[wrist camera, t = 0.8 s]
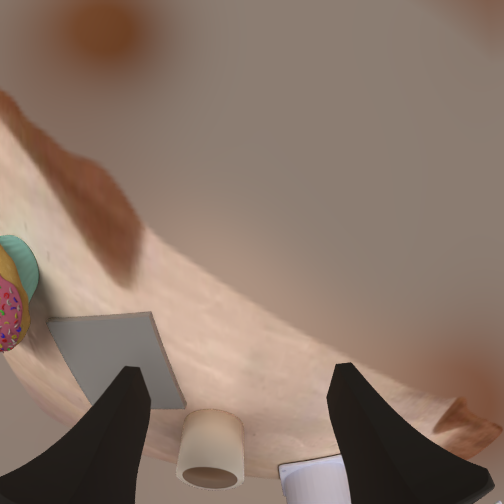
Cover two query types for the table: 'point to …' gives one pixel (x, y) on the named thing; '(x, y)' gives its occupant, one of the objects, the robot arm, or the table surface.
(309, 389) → the table surface
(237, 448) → the cup
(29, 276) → the cupcake
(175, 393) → the coaster
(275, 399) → the table surface
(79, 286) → the table surface
